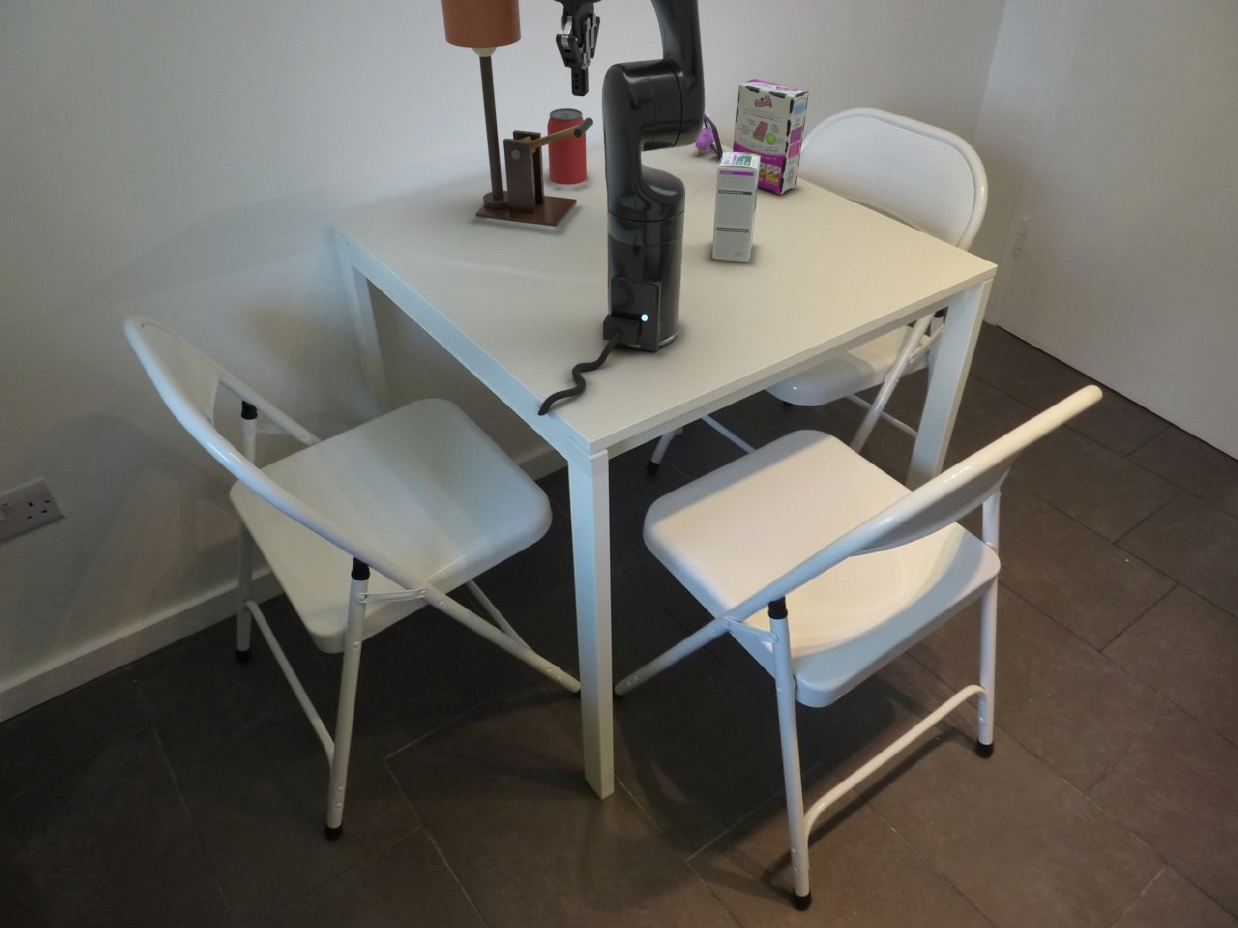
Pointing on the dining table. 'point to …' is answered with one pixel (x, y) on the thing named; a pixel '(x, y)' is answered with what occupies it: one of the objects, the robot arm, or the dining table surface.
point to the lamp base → (527, 186)
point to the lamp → (485, 63)
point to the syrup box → (735, 206)
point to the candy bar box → (771, 131)
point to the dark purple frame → (709, 138)
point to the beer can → (567, 148)
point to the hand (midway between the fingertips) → (580, 94)
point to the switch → (561, 134)
